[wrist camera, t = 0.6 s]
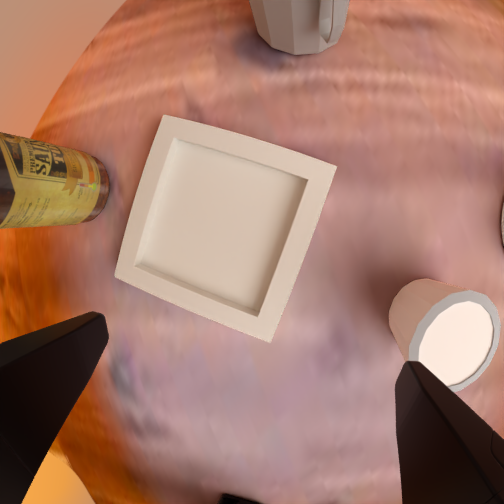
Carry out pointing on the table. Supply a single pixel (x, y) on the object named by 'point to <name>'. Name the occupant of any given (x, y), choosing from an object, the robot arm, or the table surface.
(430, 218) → the table surface
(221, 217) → the holder tray
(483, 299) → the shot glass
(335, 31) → the water bottle
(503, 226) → the teacup
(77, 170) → the sauce bottle
